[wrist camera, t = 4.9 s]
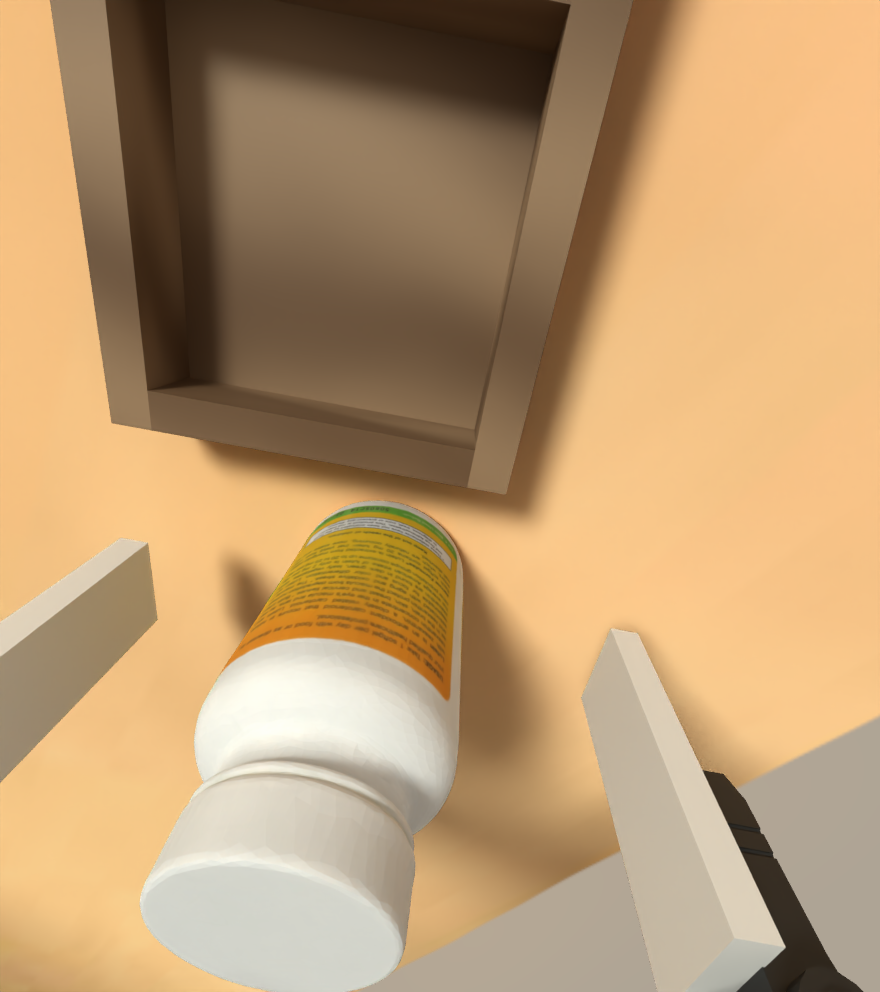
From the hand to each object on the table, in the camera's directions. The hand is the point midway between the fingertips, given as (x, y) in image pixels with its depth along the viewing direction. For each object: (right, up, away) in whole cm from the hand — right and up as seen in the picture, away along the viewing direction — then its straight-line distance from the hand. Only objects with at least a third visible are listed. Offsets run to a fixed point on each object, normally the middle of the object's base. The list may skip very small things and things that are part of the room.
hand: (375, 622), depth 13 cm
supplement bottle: (0, +1, +3) cm, 3 cm away
